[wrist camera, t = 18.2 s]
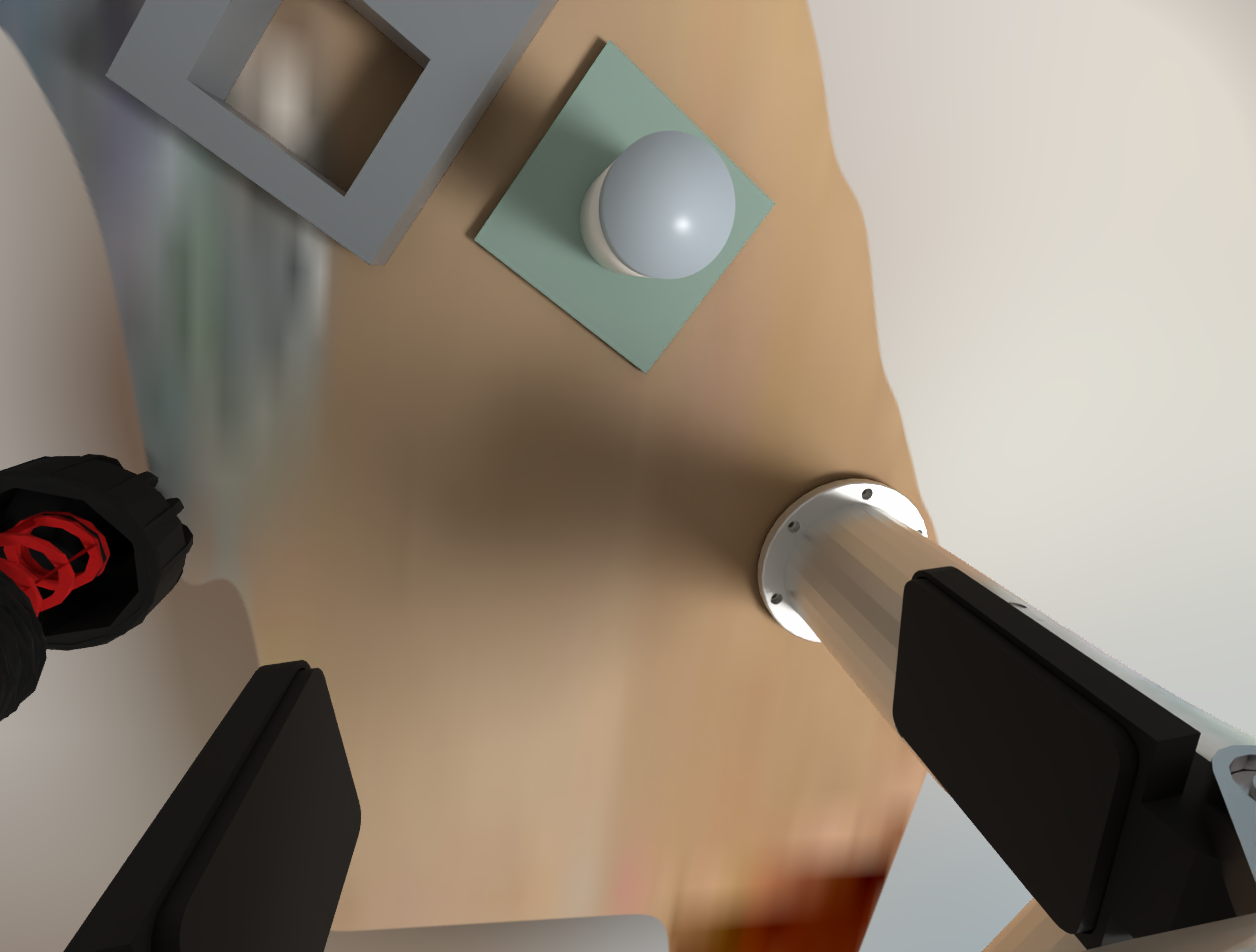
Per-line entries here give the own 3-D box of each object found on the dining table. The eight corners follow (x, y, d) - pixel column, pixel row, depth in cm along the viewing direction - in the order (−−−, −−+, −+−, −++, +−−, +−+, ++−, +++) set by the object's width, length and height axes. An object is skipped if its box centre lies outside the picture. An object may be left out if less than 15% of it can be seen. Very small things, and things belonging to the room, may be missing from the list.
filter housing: (596, -59, 29) (606, -101, 26) (384, 265, 32) (369, 264, 29) (371, -296, 25) (350, -380, 22) (152, 98, 28) (105, 75, 25)
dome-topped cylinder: (674, 159, 32) (731, 123, 24) (683, 268, 34) (739, 269, 26) (571, 171, 32) (593, 138, 23) (587, 282, 34) (613, 287, 25)
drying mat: (770, 204, 35) (775, 203, 34) (644, 372, 36) (646, 373, 36) (607, 43, 31) (609, 39, 30) (474, 240, 33) (474, 239, 32)
